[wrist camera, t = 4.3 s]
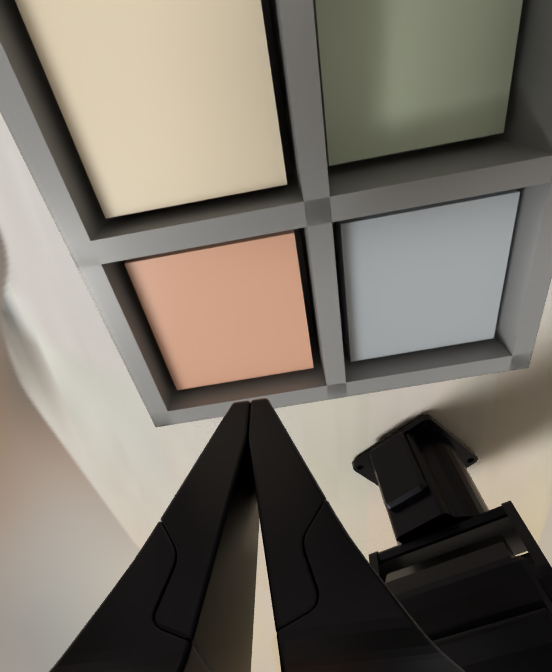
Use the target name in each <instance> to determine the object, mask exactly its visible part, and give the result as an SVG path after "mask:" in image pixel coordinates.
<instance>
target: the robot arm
mask: <svg viewBox="0 0 552 672" xmlns="http://www.w3.org/2000/svg"><path fill="white" fill-rule="evenodd" d="M477 460H478V458H477V456H476V455H475V453H474V452H473V451H472V450H471V449H469V448H468V447H467V446H466V445H465V444H463V443H462V442H461V441H460V440H459V439H457V438H456V437H455V436H454V435H453V434H451V433H450V432H449V431H448V430H447V429H445V428H444V427H443V426H442V425H441V424H439V423H438V422H437V421H436V420H435V419H433V418H432V417H431V416H429V415H422V416H420V417H418V418H417V419H415V420H414V421H412V422H411V423H409V424H408V425H406V426H405V427H403V428H402V429H400V430H399V431H397V432H396V433H394V434H393V435H391V436H390V437H388V438H387V439H385V440H384V441H382V442H380V443H379V444H377V445H376V446H374V447H373V448H371V449H370V450H368V451H367V452H365V453H364V454H362V455H361V456H359V457H358V458H356V459H355V460H354V461H353V462H352V465H353V469H354V470H355V471H356V472H357V473H359V474H361V475H362V476H364V477H365V478H367V479H368V480H370V481H372V482H373V483H375V484H376V485H378V486H379V488H380V491H381V494H382V497H383V501H384V504H385V507H386V509H387V512H388V515H389V518H390V522H391V525H392V528H393V531H394V534H395V538H396V541H397V544H398V545H397V546H395V547H392V548H389V549H387V550H384V551H381V552H374V553H371V554H369V562H370V564H369V562H368V561H367V560H366V558H365V557H364V556H363V554H362V553H361V551H360V550H359V549H358V547H357V546H356V545H355V543H354V542H353V540H352V539H351V538H350V536H349V535H348V533H347V532H346V530H345V528H344V527H343V525H342V524H341V522H340V520H339V519H338V517H337V516H336V514H335V512H334V511H333V509H332V507H331V505H330V504H329V502H328V501H326V497H325V496H324V494H323V492H322V490H321V489H320V487H319V485H318V484H317V482H316V480H315V478H314V477H313V475H312V473H311V472H310V470H309V468H308V466H307V465H306V463H305V461H304V460H303V458H302V456H301V455H300V453H299V451H298V449H297V448H296V446H295V444H294V443H293V441H292V439H291V437H290V436H289V434H288V432H287V431H286V429H285V427H284V425H283V424H282V422H281V420H280V419H279V417H278V415H277V413H276V412H275V410H274V408H273V407H272V405H271V403H270V401H269V400H268V399H267V398H261V399H254V400H252V401H251V402H250V401H248V400H246V401H239V402H234V403H233V404H232V405H231V407H230V408H229V410H228V411H227V413H226V415H225V416H224V418H223V419H222V421H221V423H220V424H219V426H218V428H217V429H216V431H215V432H214V434H213V436H212V437H211V439H210V440H209V442H208V444H207V445H206V447H205V448H204V450H203V452H202V453H201V455H200V456H199V458H198V460H197V461H196V463H195V464H194V466H193V468H192V469H191V471H190V472H189V474H188V476H187V477H186V479H185V480H184V482H183V484H182V485H181V487H180V488H179V490H178V492H177V493H176V495H175V497H174V498H173V500H172V501H171V503H170V505H169V506H168V508H167V509H166V511H165V513H164V514H163V516H162V517H161V521H162V522H158V523H157V525H156V527H155V528H154V530H153V532H152V533H151V535H150V536H149V538H148V539H147V541H146V542H145V544H144V545H143V547H142V549H141V550H140V552H139V553H138V555H137V556H136V558H135V560H134V561H133V562H132V564H131V565H130V566H129V568H128V569H127V570H126V572H125V573H124V574H123V576H122V577H121V579H120V580H119V581H118V583H117V584H116V586H115V587H114V588H113V590H112V591H111V592H110V594H109V595H108V596H107V598H106V599H105V600H104V601H103V603H102V604H101V605H100V607H99V608H98V609H97V611H96V612H95V613H94V615H93V616H92V617H91V619H90V620H89V621H88V623H87V624H86V625H85V626H84V628H83V629H82V630H81V632H80V633H79V634H78V636H77V637H76V638H75V640H74V641H73V642H72V644H71V645H70V646H69V648H68V649H67V650H66V651H65V653H64V654H63V655H62V657H61V658H60V659H59V660H58V662H57V663H56V664H55V665H54V667H53V668H52V669H51V670H50V671H49V672H251V657H252V639H253V622H254V621H253V620H254V603H255V587H256V569H257V551H258V534H259V518H260V525H261V532H262V539H263V545H264V552H265V559H266V566H267V573H268V580H269V586H270V593H271V600H272V607H273V614H274V620H275V628H276V632H277V641H278V649H279V656H280V664H281V672H552V567H551V566H550V564H549V562H548V561H547V559H546V558H545V556H544V554H543V553H542V551H541V549H540V548H539V546H538V545H537V543H536V541H535V540H534V538H533V536H532V535H531V533H530V532H529V530H528V528H527V527H526V525H525V523H524V522H523V520H522V518H521V517H520V515H519V514H518V512H517V510H516V509H515V507H514V505H513V504H512V502H511V501H508V502H505V503H502V504H501V505H502V506H500V507H497V508H495V509H492V510H489V509H488V507H487V506H486V504H485V502H484V500H483V498H482V497H481V495H480V493H479V491H478V489H477V487H476V486H475V484H474V482H473V480H472V478H471V476H470V475H469V473H468V471H467V469H466V468H467V467H469V466H471V465H472V464H474V463H475V462H476V461H477ZM526 551H528V552H529V553H526V554H523V555H520V556H515V555H517V554H520V553H523V552H526Z"/></svg>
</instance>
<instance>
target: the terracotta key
mask: <svg viewBox="0 0 552 672" xmlns="http://www.w3.org/2000/svg"><path fill="white" fill-rule="evenodd" d="M124 264H125V267H126V269H127V271H128V274H129V276H130V279H131V281H132V283H133V286H134V288H135V291H136V293H137V296H138V298H139V300H140V303H141V305H142V308H143V310H144V312H145V315H146V317H147V320H148V322H149V324H150V327H151V329H152V332H153V334H154V336H155V339H156V341H157V344H158V346H159V348H160V351H161V353H162V356H163V358H164V360H165V363H166V365H167V368H168V370H169V372H170V375H171V377H172V380H173V382H174V384H175V387H176V389H177V390H183V389H189V388H195V387H201V386H207V385H213V384H219V383H225V382H231V381H237V380H243V379H249V378H256V377H262V376H268V375H274V374H280V373H286V372H292V371H298V370H304V369H310V368H314V367H313V360H312V353H311V346H310V339H309V332H308V325H307V318H306V311H305V304H304V298H303V291H302V284H301V277H300V270H299V263H298V256H297V249H296V242H295V235H294V230H293V229H292V230H287V231H282V232H276V233H271V234H265V235H260V236H254V237H249V238H243V239H238V240H232V241H227V242H221V243H216V244H210V245H205V246H199V247H194V248H188V249H183V250H177V251H172V252H166V253H161V254H155V255H150V256H144V257H139V258H133V259H128V260H126V262H125V263H124Z"/></svg>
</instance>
